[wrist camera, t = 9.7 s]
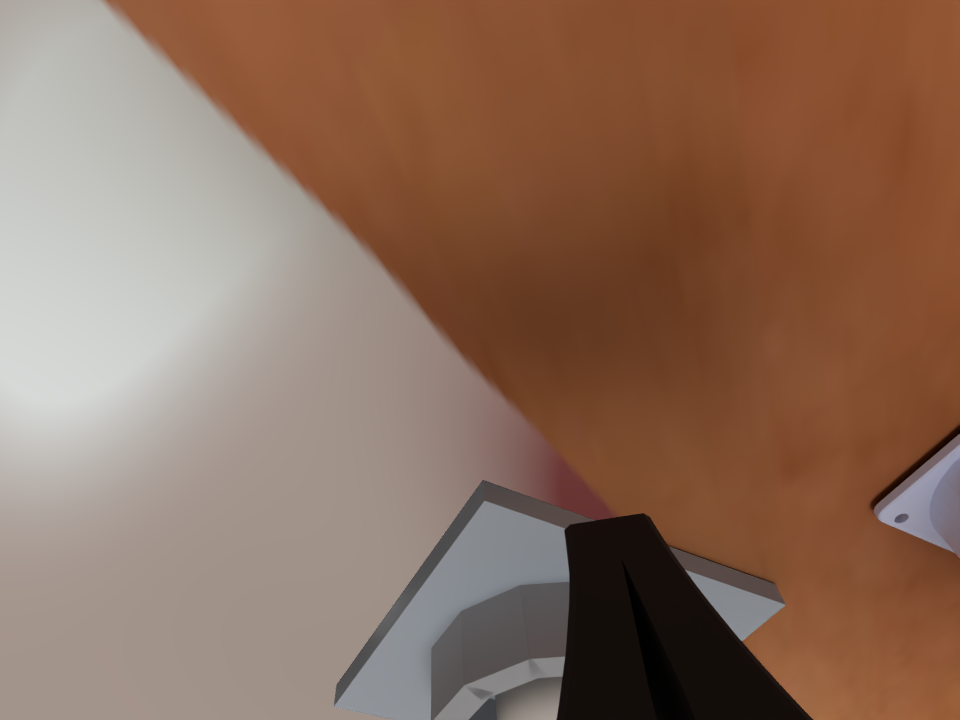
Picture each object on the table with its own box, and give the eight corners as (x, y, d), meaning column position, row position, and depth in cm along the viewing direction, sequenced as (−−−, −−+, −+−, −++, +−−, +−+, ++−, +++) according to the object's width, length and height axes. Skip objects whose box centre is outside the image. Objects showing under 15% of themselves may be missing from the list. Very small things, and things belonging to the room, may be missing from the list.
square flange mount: (774, 583, 27) (823, 675, 23) (590, 742, 33) (607, 832, 30) (482, 479, 22) (490, 573, 19) (336, 684, 29) (323, 781, 25)
